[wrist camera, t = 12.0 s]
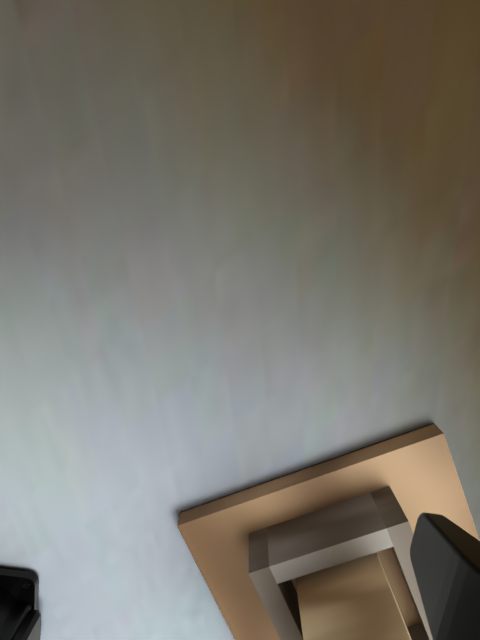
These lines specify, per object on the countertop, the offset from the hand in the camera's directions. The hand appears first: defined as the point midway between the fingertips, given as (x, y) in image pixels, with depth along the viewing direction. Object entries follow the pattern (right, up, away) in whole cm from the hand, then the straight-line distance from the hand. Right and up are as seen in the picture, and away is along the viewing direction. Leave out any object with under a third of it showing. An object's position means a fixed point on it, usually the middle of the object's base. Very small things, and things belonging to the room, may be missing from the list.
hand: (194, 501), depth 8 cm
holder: (+7, -10, +14) cm, 19 cm away
